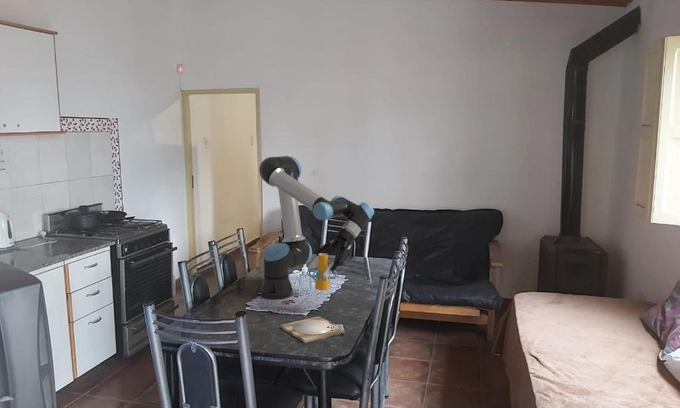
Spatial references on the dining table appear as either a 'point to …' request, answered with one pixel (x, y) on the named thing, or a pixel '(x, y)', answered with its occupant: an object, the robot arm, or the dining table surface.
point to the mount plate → (311, 329)
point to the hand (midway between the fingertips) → (317, 272)
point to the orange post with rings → (321, 273)
